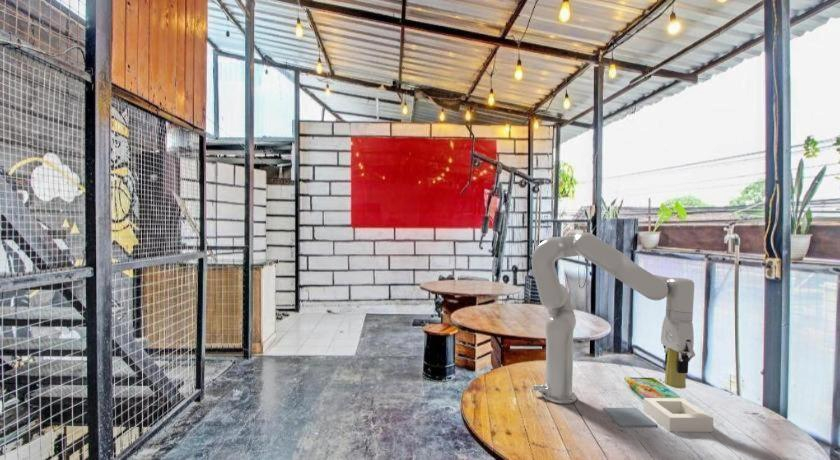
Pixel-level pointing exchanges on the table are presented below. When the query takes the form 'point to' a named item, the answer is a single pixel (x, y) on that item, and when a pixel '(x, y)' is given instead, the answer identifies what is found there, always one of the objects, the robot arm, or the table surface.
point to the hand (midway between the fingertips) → (676, 368)
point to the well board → (678, 415)
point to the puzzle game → (649, 388)
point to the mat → (629, 417)
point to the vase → (674, 371)
